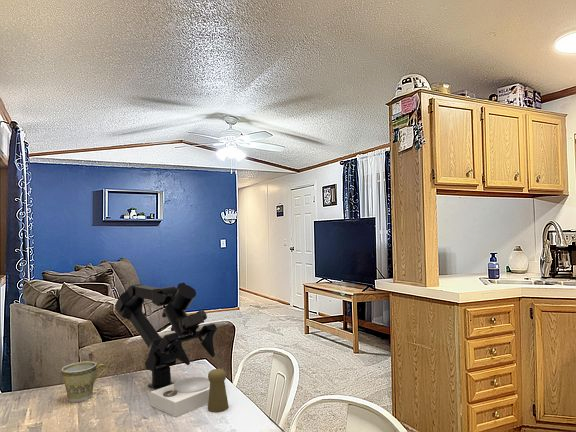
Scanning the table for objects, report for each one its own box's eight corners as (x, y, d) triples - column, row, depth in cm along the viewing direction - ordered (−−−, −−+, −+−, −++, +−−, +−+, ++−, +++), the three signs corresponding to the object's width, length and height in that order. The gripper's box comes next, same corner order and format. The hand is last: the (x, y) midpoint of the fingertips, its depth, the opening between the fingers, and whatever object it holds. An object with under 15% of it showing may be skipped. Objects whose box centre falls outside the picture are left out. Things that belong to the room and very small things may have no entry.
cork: (224, 413, 123) (223, 373, 124) (204, 412, 125) (202, 373, 125) (231, 404, 129) (230, 366, 130) (212, 403, 131) (210, 366, 131)
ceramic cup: (67, 407, 131) (66, 374, 132) (58, 398, 139) (57, 366, 139) (111, 395, 140) (110, 363, 140) (101, 387, 148) (100, 357, 148)
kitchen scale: (150, 405, 131) (150, 389, 131) (194, 388, 143) (194, 374, 143) (175, 417, 122) (175, 399, 122) (220, 398, 134) (219, 382, 134)
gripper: (162, 308, 129) (186, 352, 121) (212, 298, 143) (236, 337, 135) (149, 331, 134) (171, 375, 126) (198, 319, 148) (221, 358, 140)
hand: (201, 360), depth 132 cm, fingers open, 9 cm apart
